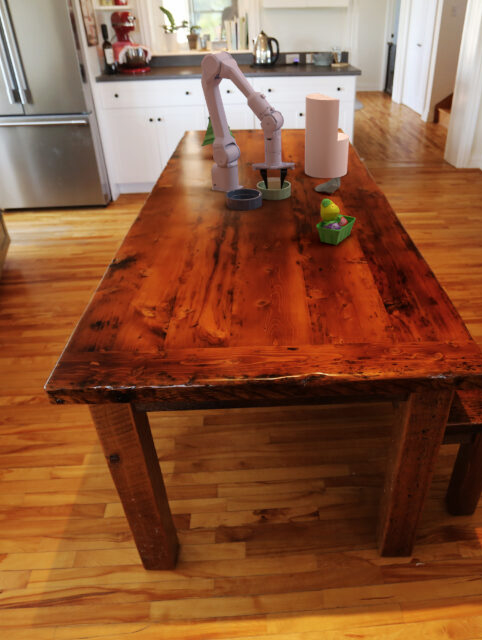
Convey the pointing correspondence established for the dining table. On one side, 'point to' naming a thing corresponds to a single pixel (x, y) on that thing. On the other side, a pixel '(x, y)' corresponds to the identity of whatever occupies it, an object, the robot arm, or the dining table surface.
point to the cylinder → (324, 138)
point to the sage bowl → (274, 191)
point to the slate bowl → (243, 199)
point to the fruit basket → (333, 223)
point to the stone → (329, 186)
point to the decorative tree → (211, 134)
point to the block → (274, 183)
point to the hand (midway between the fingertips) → (274, 190)
